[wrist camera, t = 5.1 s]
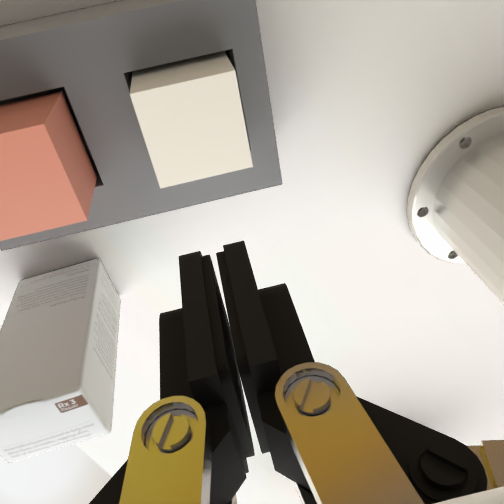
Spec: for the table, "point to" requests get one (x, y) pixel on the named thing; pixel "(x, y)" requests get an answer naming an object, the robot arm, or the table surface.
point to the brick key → (42, 167)
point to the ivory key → (191, 118)
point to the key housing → (119, 101)
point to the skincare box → (58, 360)
